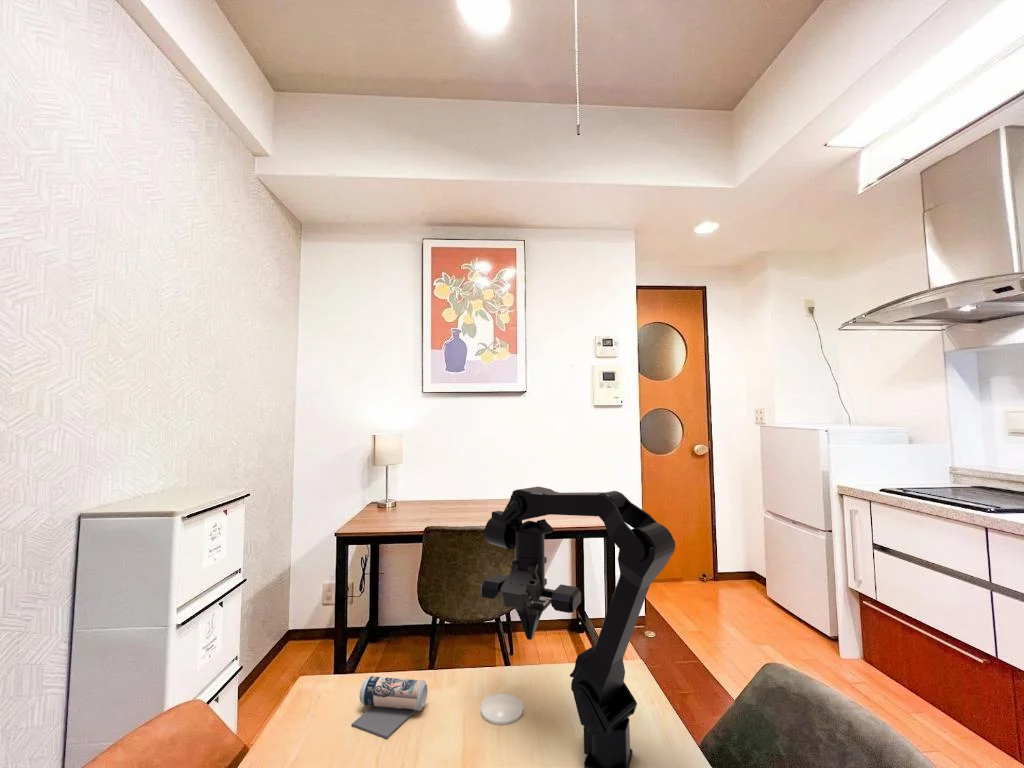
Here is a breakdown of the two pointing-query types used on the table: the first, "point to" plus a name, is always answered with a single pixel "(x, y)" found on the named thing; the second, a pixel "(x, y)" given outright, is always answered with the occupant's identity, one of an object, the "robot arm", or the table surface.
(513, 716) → the coaster
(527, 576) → the robot arm
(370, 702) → the beer can
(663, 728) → the table surface
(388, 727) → the mat
